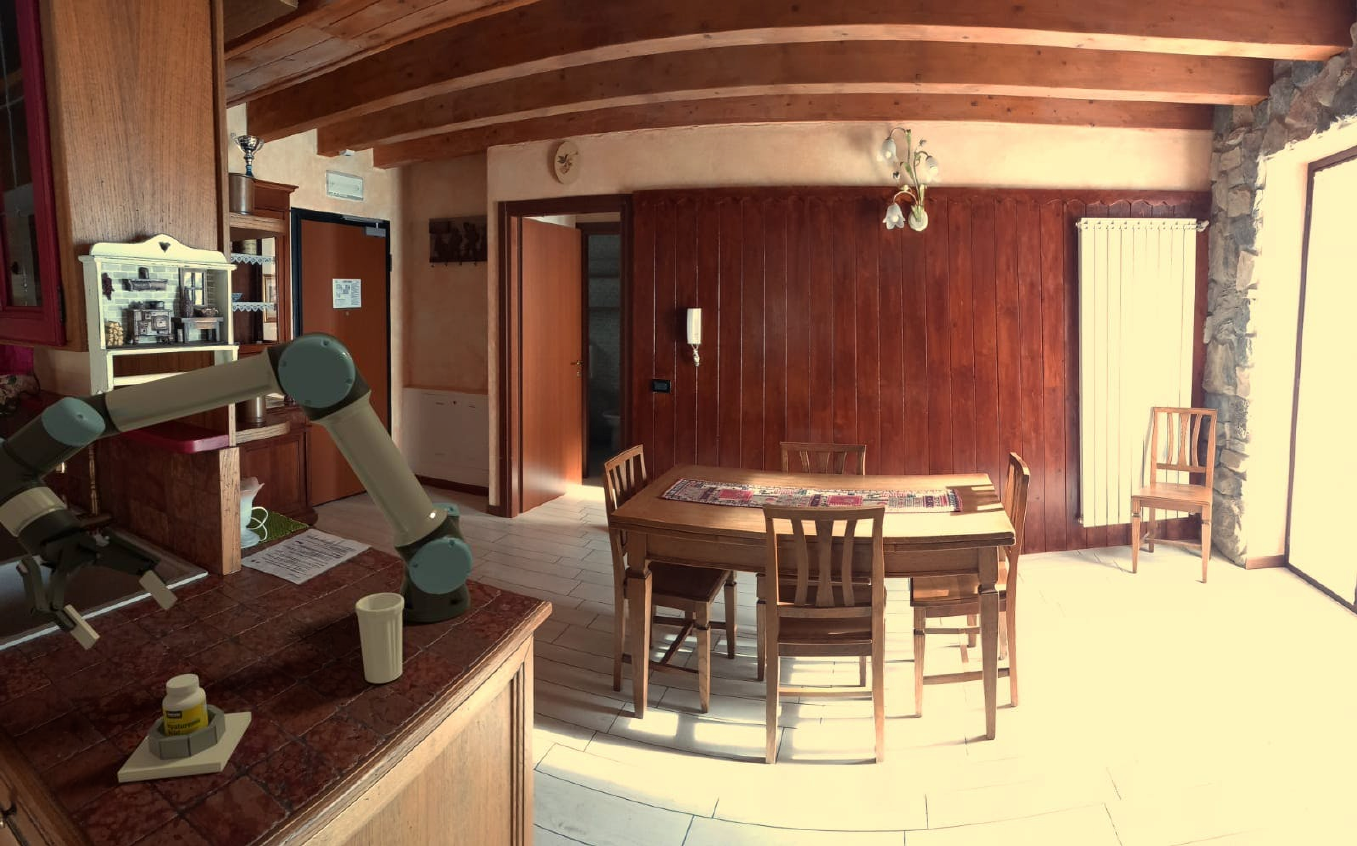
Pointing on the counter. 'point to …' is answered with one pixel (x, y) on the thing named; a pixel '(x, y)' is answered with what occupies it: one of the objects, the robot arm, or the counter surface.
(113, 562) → the robot arm
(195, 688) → the supplement bottle
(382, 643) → the cup
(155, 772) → the holder
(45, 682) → the counter surface
